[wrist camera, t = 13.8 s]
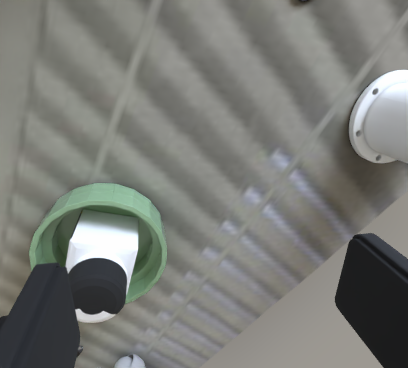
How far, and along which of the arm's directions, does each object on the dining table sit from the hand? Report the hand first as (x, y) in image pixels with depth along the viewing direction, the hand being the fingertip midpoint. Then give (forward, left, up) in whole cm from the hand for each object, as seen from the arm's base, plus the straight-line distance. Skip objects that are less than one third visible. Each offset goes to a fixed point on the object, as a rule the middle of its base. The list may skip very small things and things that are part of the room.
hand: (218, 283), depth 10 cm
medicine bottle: (-4, +16, -28) cm, 32 cm away
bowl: (-4, +16, -28) cm, 33 cm away
